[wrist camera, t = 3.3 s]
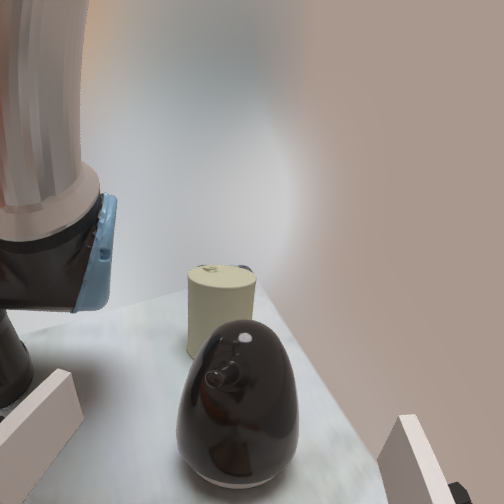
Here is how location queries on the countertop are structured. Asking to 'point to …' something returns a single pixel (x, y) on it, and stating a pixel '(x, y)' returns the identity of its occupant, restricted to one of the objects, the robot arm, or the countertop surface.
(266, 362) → the pump dispenser
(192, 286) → the can
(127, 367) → the countertop surface
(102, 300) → the robot arm
